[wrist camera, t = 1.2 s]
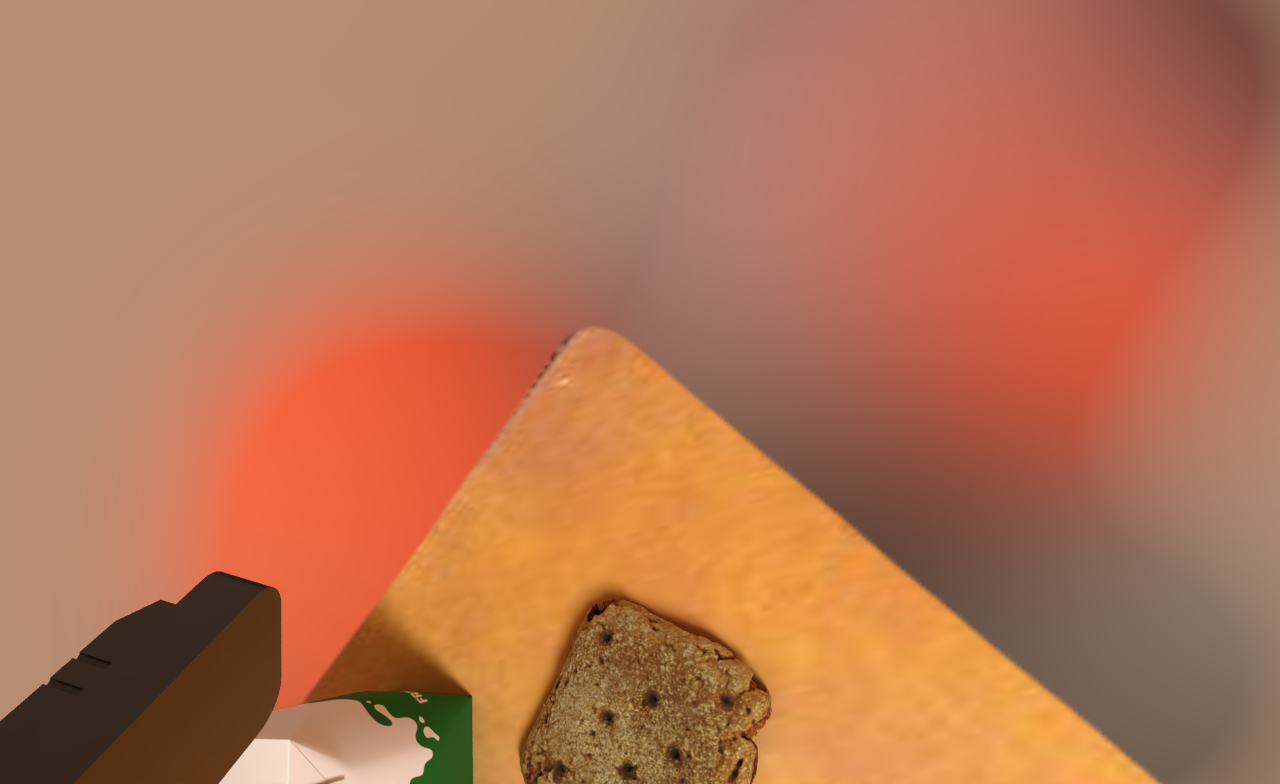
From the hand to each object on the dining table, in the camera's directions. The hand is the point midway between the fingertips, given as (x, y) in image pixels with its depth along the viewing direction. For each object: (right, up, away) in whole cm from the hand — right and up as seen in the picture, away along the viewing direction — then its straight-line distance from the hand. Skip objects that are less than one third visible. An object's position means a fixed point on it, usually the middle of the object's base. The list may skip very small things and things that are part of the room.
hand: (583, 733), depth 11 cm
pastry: (+1, -17, +48) cm, 51 cm away
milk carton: (-13, -20, +52) cm, 57 cm away
